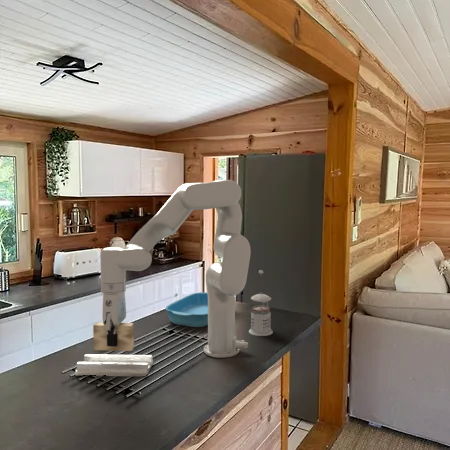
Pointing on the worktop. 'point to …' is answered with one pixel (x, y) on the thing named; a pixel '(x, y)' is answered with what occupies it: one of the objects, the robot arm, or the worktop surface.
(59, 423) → the worktop surface
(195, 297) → the casserole dish
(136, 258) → the robot arm
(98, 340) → the tan wooden block
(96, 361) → the bottom track
